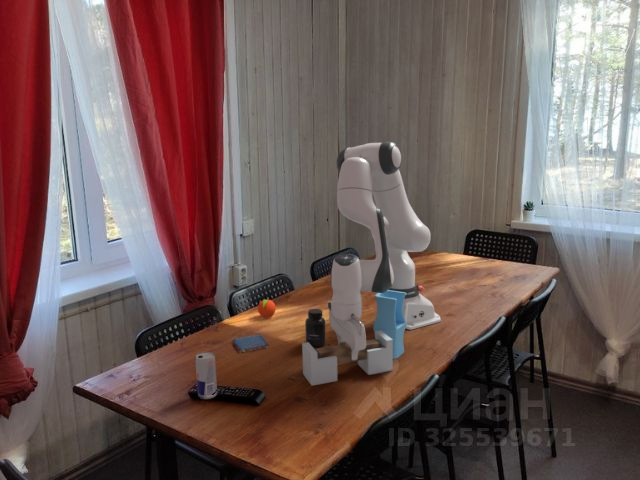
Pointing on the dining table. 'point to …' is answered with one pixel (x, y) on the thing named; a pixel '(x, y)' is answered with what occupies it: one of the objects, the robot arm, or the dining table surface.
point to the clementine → (266, 308)
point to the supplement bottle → (315, 328)
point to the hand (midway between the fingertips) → (347, 352)
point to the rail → (346, 351)
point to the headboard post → (379, 356)
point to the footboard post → (318, 366)
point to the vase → (391, 318)
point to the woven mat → (250, 343)
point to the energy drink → (206, 375)
